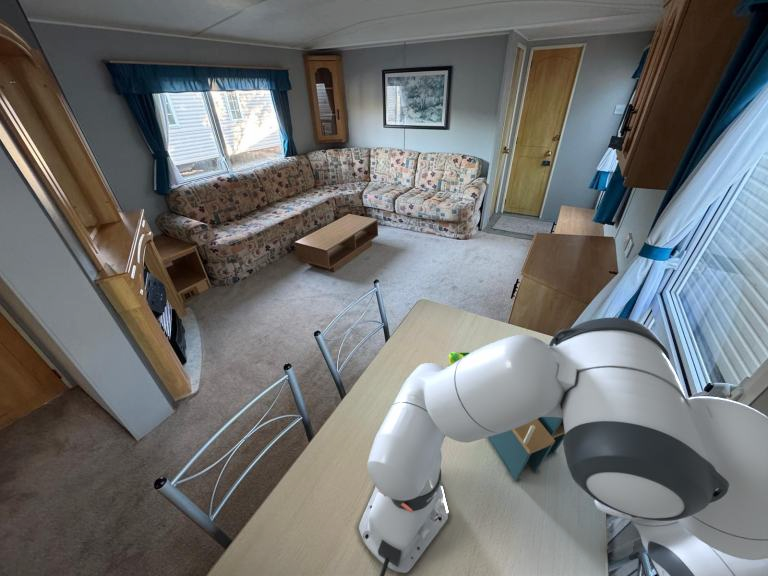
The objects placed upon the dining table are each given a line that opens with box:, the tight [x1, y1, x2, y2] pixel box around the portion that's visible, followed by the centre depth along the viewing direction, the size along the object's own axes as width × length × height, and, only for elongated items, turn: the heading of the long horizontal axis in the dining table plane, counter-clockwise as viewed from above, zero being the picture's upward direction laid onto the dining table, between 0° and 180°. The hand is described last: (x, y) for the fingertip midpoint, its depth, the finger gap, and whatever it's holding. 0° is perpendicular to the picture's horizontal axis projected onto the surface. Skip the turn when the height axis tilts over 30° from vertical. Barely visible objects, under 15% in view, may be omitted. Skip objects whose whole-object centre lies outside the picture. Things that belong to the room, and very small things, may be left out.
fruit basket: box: [448, 351, 471, 366], centre depth 101 cm, size 11×9×11 cm
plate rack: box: [487, 417, 565, 482], centre depth 76 cm, size 12×15×26 cm
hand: (603, 418), depth 61 cm, fingers open, 6 cm apart
